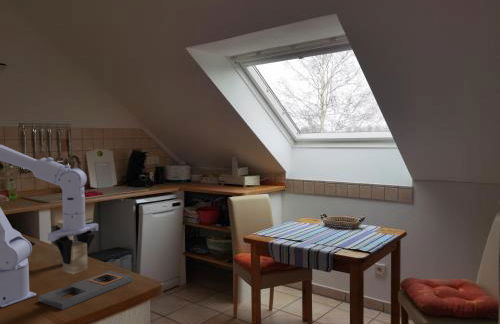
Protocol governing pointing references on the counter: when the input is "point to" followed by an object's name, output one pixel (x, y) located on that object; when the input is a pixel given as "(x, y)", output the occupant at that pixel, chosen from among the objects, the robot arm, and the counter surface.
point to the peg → (77, 258)
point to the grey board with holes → (84, 289)
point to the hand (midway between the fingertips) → (75, 260)
